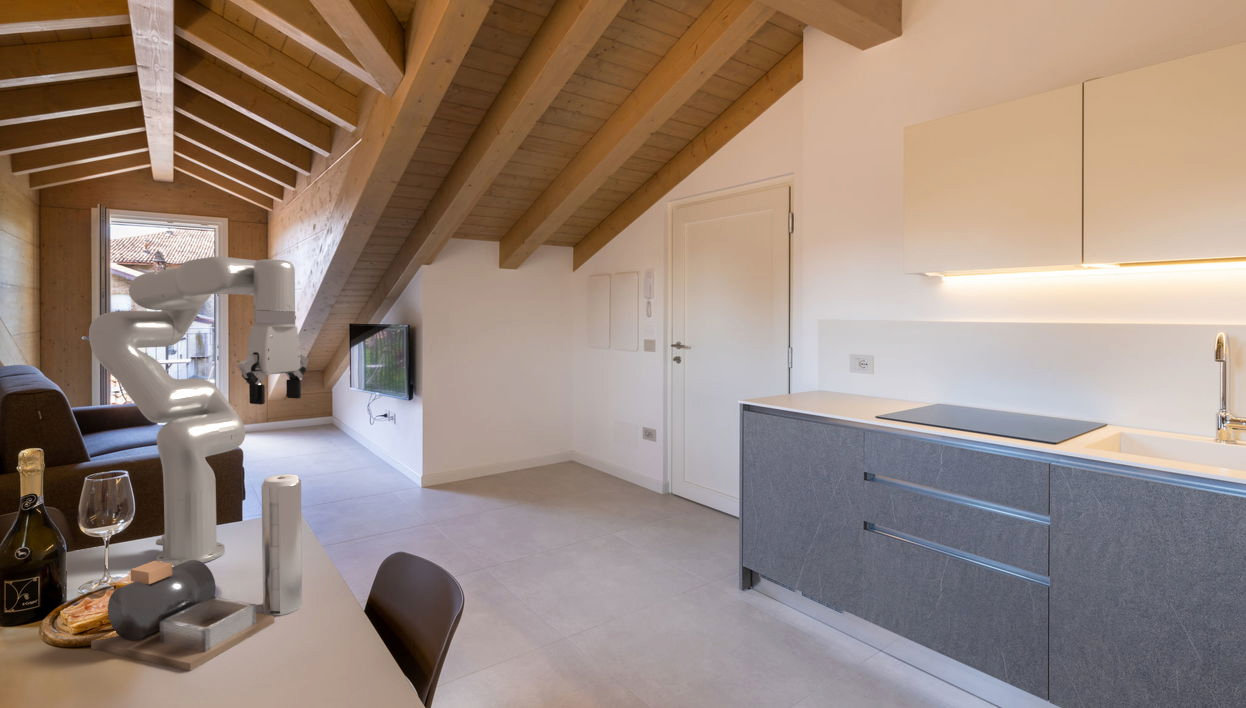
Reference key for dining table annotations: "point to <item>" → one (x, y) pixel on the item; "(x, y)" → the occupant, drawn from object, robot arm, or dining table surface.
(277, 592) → the silver tall cylinder
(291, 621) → the dining table surface
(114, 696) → the dining table surface
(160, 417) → the robot arm
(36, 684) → the dining table surface
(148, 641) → the motor mount
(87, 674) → the dining table surface
